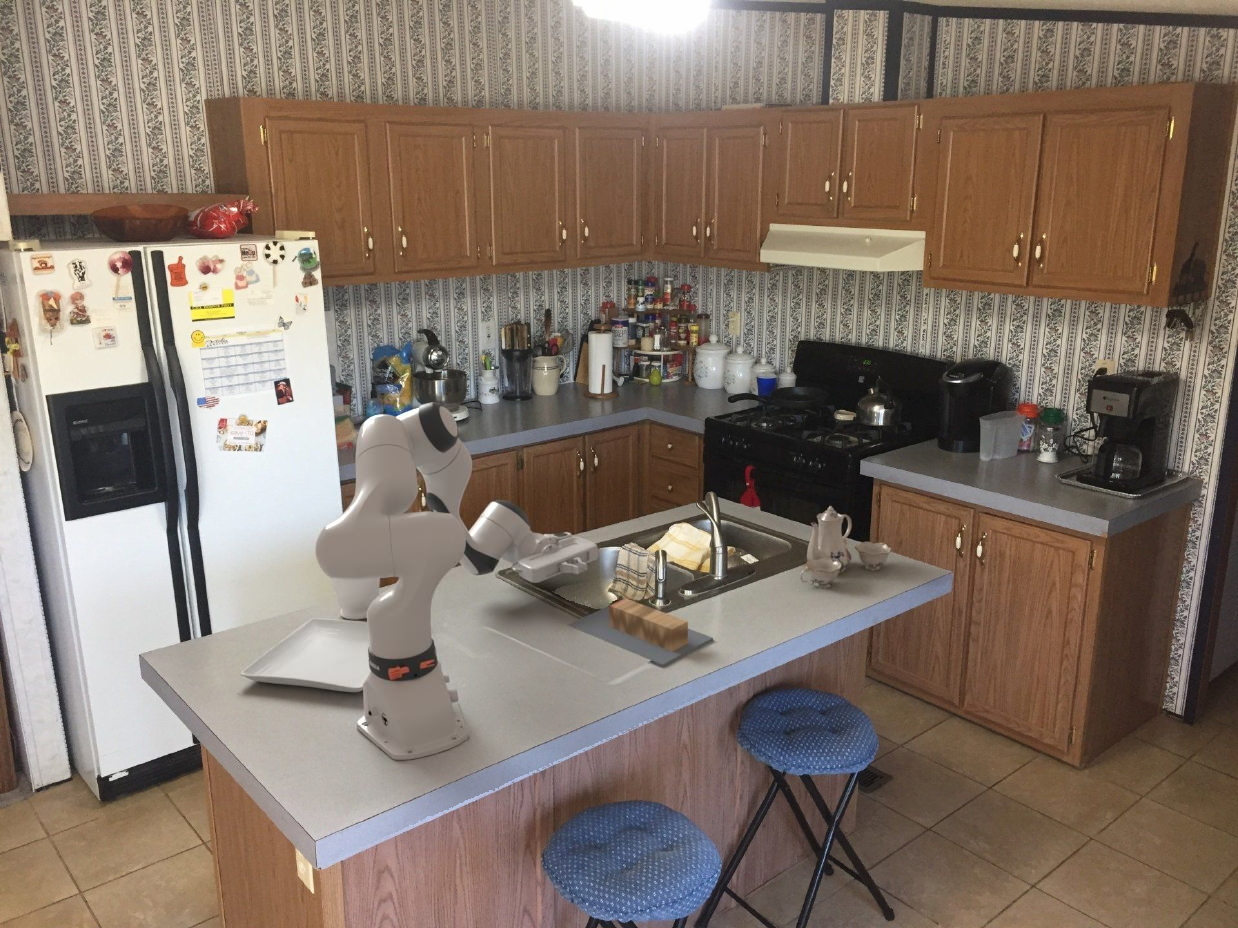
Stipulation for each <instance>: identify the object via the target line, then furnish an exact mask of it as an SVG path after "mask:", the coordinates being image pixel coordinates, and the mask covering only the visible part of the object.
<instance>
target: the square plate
mask: <svg viewBox="0 0 1238 928" xmlns="http://www.w3.org/2000/svg"><path fill="white" fill-rule="evenodd" d="M369 646H370V643H369V634H368V624H367V621H363V620H352V619H337V618H335V619H334V618H319V617H312V618H310V619H309V620H307V621H306V622H305V623H304V624H301V625H300V626H299V627H297V628H296V629H295V630H294V631H292V632H290V633H289V634H288V635H287V636H286V637H284V638H283V639H282V640H280V641H279V642H278V643H277V644H275V645H274V646H272V647H270V649H268V650H267V651H266V652H264V653H263V654H261V656H259V657H258V658H256V659H255V660H254V661H253V662H251V664H249V665H248V666H247V667H245V668H244V669H243V670H242V671H240V673H239V676H241V677H243V678H246V679H248V680H251V681H256V682H260V683H267V684H268V683H269V684H277V685H288V686H299V687H300V686H301V687H306V688H309V687H310V688H315V689H322V690H329V691H330V690H331V691H337V692H346V693H359V692H361V691H362V692H363V683H364V681H365V680H366V678H367V677H368V675H369V673H370V668H369V662H368V648H369Z"/></svg>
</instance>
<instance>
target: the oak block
mask: <svg viewBox="0 0 1238 928" xmlns="http://www.w3.org/2000/svg"><path fill="white" fill-rule="evenodd" d="M608 606H609V615H610V627H612V628H615V629H617V630H620V631H622V632H625V633H627V634H630V635H632V636H635V637H637V638H639V639H642V640H644V641H647V642H649V643H652V644H654V645H657V646H659V647H662V648H664V649H667V650H669V651H674V650H676V649H678V648H680V647H682V646H684V645H686V644H688V629H689V628H688V627H689V621H688V620H685V619H683V618H679V617H677V616H674V615H672V614H669V613H666V612H663V611H660V610H658V609H655V608H653V607H650V606H648V605H644V604H641V603H638V602H637V601H633V600H631V599H628V598H623V599H620V600H618V601H616V602H614V603H612V604H609V605H608Z"/></svg>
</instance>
